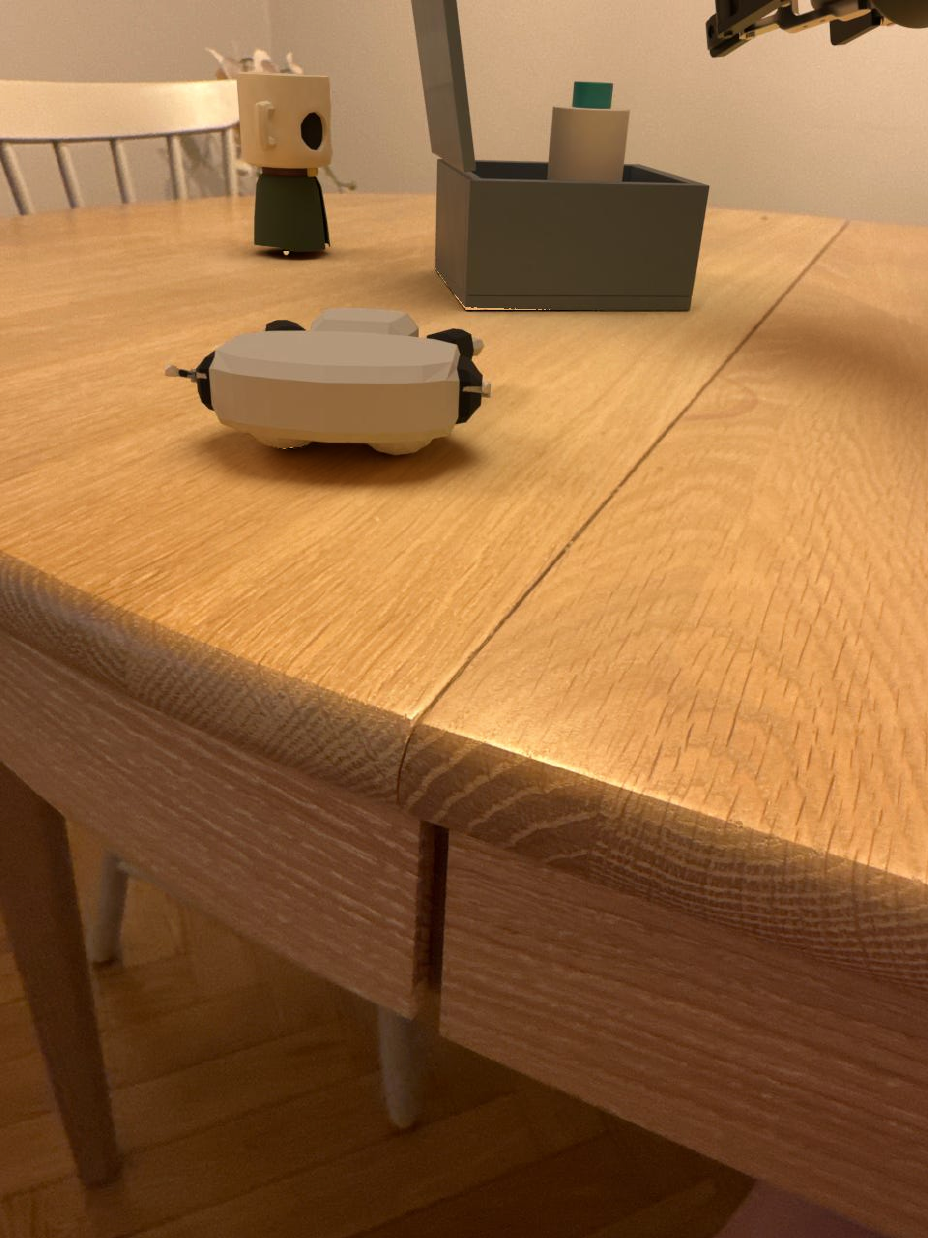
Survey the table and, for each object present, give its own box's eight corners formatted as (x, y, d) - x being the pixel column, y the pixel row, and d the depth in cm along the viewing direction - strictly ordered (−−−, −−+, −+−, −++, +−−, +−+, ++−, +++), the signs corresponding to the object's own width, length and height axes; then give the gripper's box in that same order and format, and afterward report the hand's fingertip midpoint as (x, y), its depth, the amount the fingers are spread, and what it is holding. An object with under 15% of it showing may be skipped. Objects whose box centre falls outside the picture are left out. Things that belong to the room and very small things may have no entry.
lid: (404, -132, 61) (392, -131, 61) (436, -177, 50) (421, -175, 49) (442, 150, 70) (431, 152, 70) (476, 170, 58) (464, 172, 58)
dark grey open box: (626, 271, 77) (639, 163, 73) (690, 310, 65) (710, 185, 61) (434, 270, 75) (436, 158, 70) (465, 310, 63) (469, 179, 59)
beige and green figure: (311, 267, 73) (302, 75, 67) (225, 260, 75) (209, 71, 68) (352, 245, 83) (349, 75, 76) (276, 239, 84) (266, 71, 77)
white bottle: (598, 271, 71) (618, 82, 65) (620, 285, 67) (643, 84, 61) (532, 270, 71) (546, 79, 64) (549, 285, 66) (566, 81, 60)
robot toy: (258, 385, 49) (166, 472, 36) (253, 295, 47) (154, 351, 34) (490, 397, 49) (485, 488, 36) (495, 307, 47) (491, 368, 34)
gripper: (1114, -202, 43) (869, -44, 58) (851, -195, 40) (664, -29, 55) (1110, -17, 45) (874, 89, 60) (860, 5, 42) (677, 112, 57)
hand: (774, 33), depth 57 cm, fingers open, 8 cm apart
